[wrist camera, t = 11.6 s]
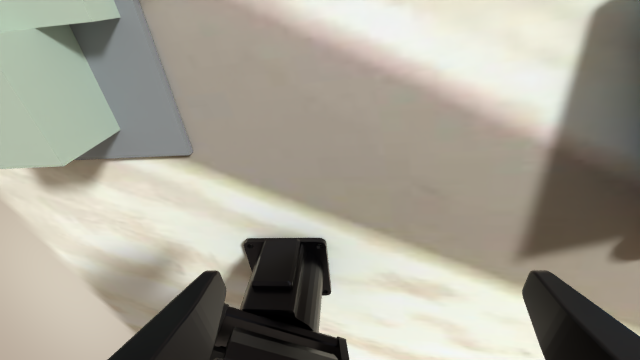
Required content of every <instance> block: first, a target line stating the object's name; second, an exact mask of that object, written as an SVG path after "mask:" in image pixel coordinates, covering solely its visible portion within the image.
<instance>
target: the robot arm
mask: <svg viewBox="0 0 640 360" xmlns="http://www.w3.org/2000/svg"><path fill="white" fill-rule="evenodd" d="M250 244H251V245H250ZM318 244H321V245H318ZM244 248H245V251H246V254H247V257H248V260H249V264H250V267H251V270H252V275H251V278H250V281H249V284H248V287H247V290H246V292H245V295H244V298H243V301H242V304H241V307H240V310H239V309H236V308H233V307H229V305H228V304H224V301H225V296H226V287H225V284H224V282H223V279H222V277H221V275H220V273H219V272H218V271H205V272H203V273H202V274H201V275H200V276H199V277H198V278H196V279H195V280H194V281H193V282H192V283H191V284H190V285H189V286H188V287H187V288H186V289H184V290H183V291H182V292H181V293H180V294H179V295H178V296H177V297H176V298H175V299H173V300H172V301H171V302H170V303H169V304H168V305H167V306H166V307H165V308H164V309H163V310H161V311H160V312H159V313H158V314H157V315H156V316H155V317H154V318H153V319H152V320H150V321H149V322H148V323H147V324H146V325H145V326H144V327H143V328H142V329H141V330H140V331H138V332H137V333H136V334H135V335H134V336H133V337H132V338H131V339H130V340H129V341H128V342H126V343H125V344H124V345H123V346H122V347H121V348H120V349H119V350H118V351H117V352H115V353H114V354H113V355H112V356H111V357H110V358H109V359H108V360H349V355H348V349H347V343H346V339H344V338H341V337H337V338H336V337H332V336H329V335H325V334H322V333H318V332H319V321H320V310H321V299H322V295H329V294H330V293H331V282H330V273H329V263H328V254H327V245H326V241H325V240H324V239H322V238H250V239H247V240H246V241H245V244H244ZM522 295H523V299H524V302H525V305H526V307H527V310H528V313H529V316H530V319H531V322H532V325H533V327H534V330H535V333H536V336H537V339H538V342H539V345H540V347H541V350H542V352H543V355H544V357H545V359H546V360H640V336H638V335H637V334H635V333H634V332H633V331H631V330H630V329H629V328H627V327H626V326H624V325H623V324H622V323H620V322H619V321H617V320H616V319H615V318H613V317H612V316H611V315H609V314H608V313H606V312H605V311H604V310H602V309H601V308H600V307H598V306H597V305H595V304H594V303H593V302H591V301H590V300H588V299H587V298H586V297H584V296H583V295H582V294H580V293H579V292H577V291H576V290H575V289H573V288H572V287H571V286H569V285H568V284H566V283H565V282H564V281H562V280H561V279H559V278H558V277H557V276H555V275H554V274H553V273H551V272H549V271H531V272H530V273H529V275H528V277H527V280H526V282H525V284H524V287H523V290H522Z"/></svg>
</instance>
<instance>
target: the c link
mask: <svg viewBox="0 0 640 360" xmlns="http://www.w3.org/2000/svg"><path fill="white" fill-rule="evenodd" d="M114 18H121V17H120V14H119V12H118V9H117V7H116V5H115V2H114V0H0V169H12V168H35V167H58V166H65V165H67V164H68V163H70V162H71V161H73V160H74V159H76V158H77V157H79V156H81V155H82V154H84V153H85V152H87V151H88V150H90V149H92V148H93V147H95V146H96V145H98V144H99V143H101V142H102V141H104V140H106V139H107V138H109V137H110V136H112V135H113V134H115V133H116V132H118V131H120V130H121V129H120V127H119V125H118V123H117V121H116V119H115V117H114V115H113V113H112V111H111V109H110V107H109V105H108V103H107V101H106V99H105V97H104V95H103V93H102V91H101V89H100V87H99V85H98V83H97V81H96V79H95V77H94V74H93V72H92V70H91V68H90V66H89V64H88V62H87V60H86V58H85V56H84V54H83V52H82V50H81V48H80V46H79V44H78V42H77V40H76V38H75V36H74V34H73V32H72V30H71V28H70V26H69V24H76V23H86V22H94V21H101V20H108V19H114Z"/></svg>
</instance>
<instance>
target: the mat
mask: <svg viewBox="0 0 640 360" xmlns="http://www.w3.org/2000/svg"><path fill="white" fill-rule="evenodd" d="M114 2H115V5H116V7H117V9H118V12H119V14H120V17H121V18H114V19H108V20H101V21H94V22H86V23H76V24H69V26H70V28H71V30H72V32H73V34H74V36H75V38H76V40H77V42H78V44H79V46H80V48H81V50H82V52H83V54H84V56H85V58H86V60H87V62H88V64H89V66H90V68H91V70H92V72H93V74H94V77H95V79H96V81H97V83H98V85H99V87H100V89H101V91H102V93H103V95H104V97H105V99H106V101H107V103H108V105H109V107H110V109H111V111H112V113H113V115H114V117H115V119H116V121H117V123H118V125H119V127H120V129H121V130H120V131H118V132H116V133H115V134H113V135H112V136H110V137H109V138H107V139H106V140H104V141H102V142H101V143H99V144H98V145H96V146H95V147H93V148H92V149H90V150H88V151H87V152H85V153H84V154H82V155H81V156H79V157H77V158H76V159H74V160H84V159H108V158H132V157H156V156H179V155H190V154H191V153H192V152H193V150H192V147H191V144H190V141H189V139H188V136H187V133H186V130H185V127H184V125H183V122H182V119H181V116H180V114H179V111H178V108H177V105H176V103H175V100H174V97H173V94H172V91H171V89H170V86H169V83H168V80H167V78H166V75H165V72H164V69H163V66H162V64H161V61H160V58H159V55H158V53H157V50H156V47H155V44H154V42H153V39H152V36H151V33H150V30H149V28H148V25H147V22H146V19H145V17H144V14H143V11H142V8H141V6H140V3H139V0H114Z"/></svg>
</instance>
